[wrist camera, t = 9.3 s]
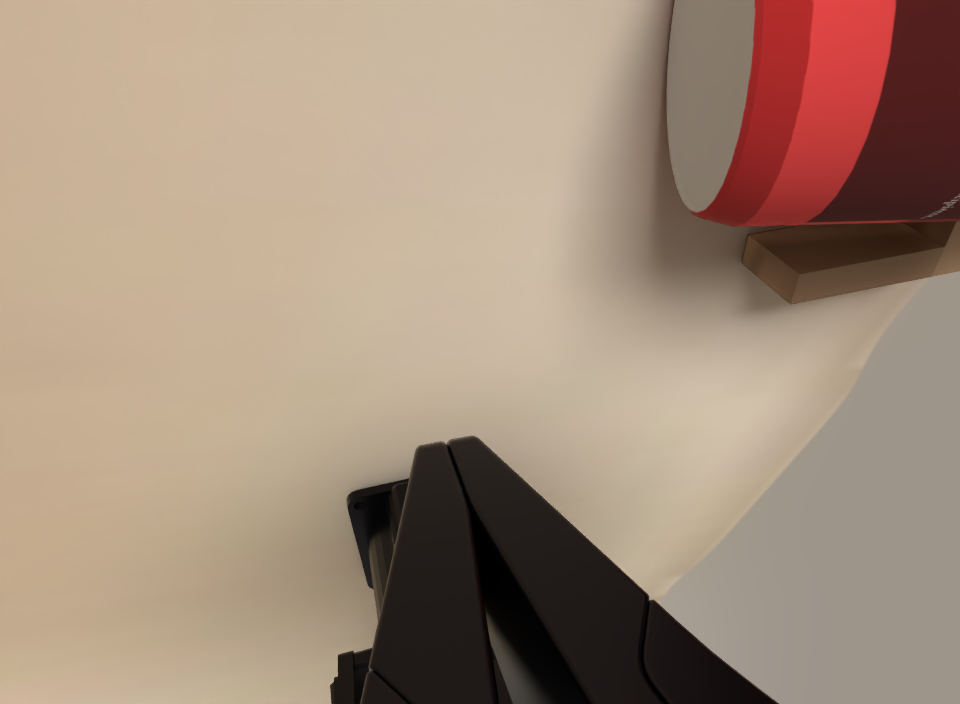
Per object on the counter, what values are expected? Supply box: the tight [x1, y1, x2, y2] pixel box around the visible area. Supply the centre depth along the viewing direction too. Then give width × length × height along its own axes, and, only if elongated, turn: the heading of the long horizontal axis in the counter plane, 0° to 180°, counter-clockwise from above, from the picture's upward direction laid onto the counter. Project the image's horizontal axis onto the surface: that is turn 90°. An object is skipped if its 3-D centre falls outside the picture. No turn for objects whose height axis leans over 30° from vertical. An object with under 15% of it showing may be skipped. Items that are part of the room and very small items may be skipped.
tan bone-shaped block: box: [742, 221, 960, 304], centre depth 19 cm, size 16×7×3 cm, turn 3°
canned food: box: [667, 0, 960, 227], centre depth 15 cm, size 8×8×11 cm
